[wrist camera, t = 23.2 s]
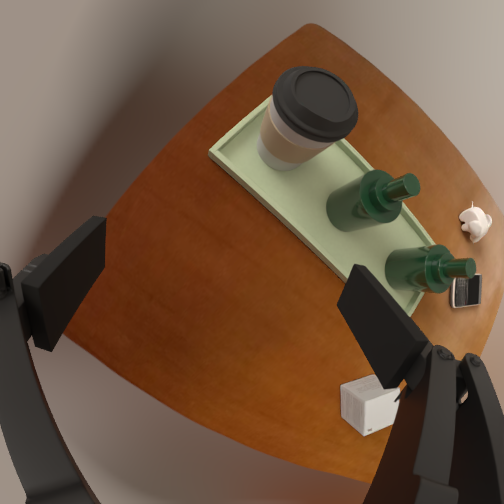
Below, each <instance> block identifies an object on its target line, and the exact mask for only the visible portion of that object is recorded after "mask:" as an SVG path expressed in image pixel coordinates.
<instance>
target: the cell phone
mask: <svg viewBox="0 0 504 504" xmlns="http://www.w3.org/2000/svg"><path fill="white" fill-rule="evenodd" d="M481 288H482V275H481V274H475V275H474V277H473V278H455V279H454V281H453V282H452V283H451V289H450V305H451V306H452V307H453V308H460V307H467V306H473V305H479V304H481Z"/></svg>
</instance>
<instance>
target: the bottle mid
mask: <svg viewBox="0 0 504 504" xmlns="http://www.w3.org/2000/svg"><path fill="white" fill-rule="evenodd" d="M419 192H420V183H419V180H418V179H417V177H416V176H415V175H413V174H411V173H407V174H405V175H403V176H400V177H398V178H396V179H394V178H393V177H392V176H391V175H389V174H388V173H386V172H384V171H382V170H371V171H369V172H367V173H365V174H363V175H362V176H360V177H358V178H356V179H354V180H352V181H350V182H349V183H347V184H345V185H343V186H341V187H339V188H338V189H336V190H334V191H333V192H332V193H331V194H330V195H329V197H328V199H327V202H326V212H327V216H328V218H329V220H330V222H331V223H332V225H333V226H334V227H335V228H337V229H338V230H340V231H343V232H353V231H357V230H361V229H366V228H370V227H374V226H378V225H382V224H386V223H390V222H393V221H394V220H395V219H396V218H397V217H398V216H399V214H400V212H401V209H402V201H403V200H405V199H408V198H411V197H414V196H417V195H418V194H419Z"/></svg>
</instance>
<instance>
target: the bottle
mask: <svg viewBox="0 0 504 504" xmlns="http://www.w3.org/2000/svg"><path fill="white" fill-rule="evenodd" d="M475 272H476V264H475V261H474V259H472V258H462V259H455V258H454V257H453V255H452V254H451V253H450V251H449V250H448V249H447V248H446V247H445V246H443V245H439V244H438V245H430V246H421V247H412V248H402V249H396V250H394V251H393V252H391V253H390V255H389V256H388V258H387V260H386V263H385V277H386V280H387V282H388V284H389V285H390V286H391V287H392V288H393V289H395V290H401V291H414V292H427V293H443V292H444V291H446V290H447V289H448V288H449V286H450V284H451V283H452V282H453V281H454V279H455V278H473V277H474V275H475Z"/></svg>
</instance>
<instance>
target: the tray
mask: <svg viewBox="0 0 504 504" xmlns="http://www.w3.org/2000/svg"><path fill="white" fill-rule="evenodd" d="M271 96H272V95H271ZM271 96H270V97H269V98H268V99H266V100H265V101H264V102H263V103H262V104H260V105H259V106H258V107H257V108H256V109H254V110H253V111H252V112H251V113H250V114H249V115H247V116H246V117H245V118H244V119H243V120H242V121H240V122H239V123H238V124H237V125H236V126H235V127H234V128H232V129H231V130H230V131H229V132H228V133H227V134H226V135H225V136H224V137H222V138H221V139H220V140H219V141H218V142H217V143H216V144H215V145H214V146H213V147H212V148H211V149H210V150H209V154H208V156H209V157H210V158H211V159H212V160H213V161H214V162H216V163H217V164H218V165H219V166H220V167H221V168H222V169H224V170H225V171H226V172H227V173H228V174H229V175H230V176H231V177H233V178H234V179H235V180H236V181H237V182H238V183H239V184H240V185H242V186H243V187H244V188H245V189H246V190H247V191H248V192H249V193H250V194H252V195H253V196H254V197H255V198H256V199H257V200H258V201H259V202H260V203H262V204H263V205H264V206H265V207H266V208H267V209H268V210H269V211H270V212H271V213H272V214H273V215H275V216H276V217H277V218H278V219H279V220H280V221H281V222H282V223H283V224H284V225H285V226H286V227H287V228H289V229H290V230H291V231H292V232H293V233H294V234H295V235H296V236H297V237H298V238H299V239H300V240H301V241H302V242H303V243H304V244H305V245H306V246H308V247H309V248H310V249H311V250H312V251H313V252H314V253H315V254H316V255H317V256H318V257H319V258H320V259H321V260H322V261H323V262H324V263H325V264H326V265H327V266H328V267H329V268H330V269H331V270H332V271H333V272H334V273H335V274H336V275H337V276H338V277H339V278H340V279H341V280H343V281H344V282H345V283H346V282H347V279H348V277H349V275H350V272H351V270H352V267H353V265H354V264H359V265H364V266H366V267H367V268H368V270H369V271H370V272H371V273H372V274H373V275H374V276H375V277H376V278H377V280H378V281H379V282H380V283H381V284H382V285H383V286H384V288H385V289H386V290H387V291H388V292H389V293H390V294H391V296H392V297H393V298H394V299H395V300H396V301H397V303H398V304H399V305H400V306H401V307H402V309H403V310H404V311H405V312H406V313H407V315H408V316H409V317H411V315H412V313H413V312H414V310H415V308H416V307H417V305H418V303H419V302H420V300H421V298H422V296H423V295H424V293H425V292H414V291H401V290H395V289H393V288H392V287H391V286H390V285H389V284H388V282H387V280H386V277H385V263H386V260H387V258H388V256H389V255H390V253H391V252H393V251H394V250H396V249H402V248H412V247H421V246H430V245H436V244H435V243H434V241H433V240H432V239H431V237H430V236H429V235H428V233H427V232H426V231H425V229H424V228H423V227H422V225H421V224H420V223H419V222H418V220H417V219H416V218H415V217H414V215H413V214H412V213H411V212H410V210H409V209H408V208H407V207H406V205H405V204H404V203H403V202H402V209H401V212H400V214H399V216H398V217H397V218H396V219H395V220H394V221H393V222H390V223H386V224H382V225H378V226H374V227H370V228H366V229H361V230H357V231H353V232H343V231H340V230H338V229H337V228H335V227H334V226H333V225H332V223H331V222H330V220H329V218H328V216H327V212H326V202H327V199H328V197H329V195H330V194H331V193H332V192H333V191H334V190H336V189H338V188H339V187H341V186H343V185H345V184H347V183H349V182H350V181H352V180H354V179H356V178H358V177H360V176H362V175H363V174H365V173H367V172H369V171H371V170H374V169H373V168H372V167H371V166H370V164H369V163H368V162H367V161H366V160H365V159H364V158H363V157H362V156H361V155H360V154H359V153H358V152H357V151H356V150H355V149H354V148H353V147H352V146H351V145H350V144H349V143H348V142H347V141H346V140H345V139H344V138H343V139H341V140H339V141H336V142H335V143H334V144H333V145H331V146H330V147H328V148H327V149H325V150H324V151H322V152H321V153H319V154H318V155H316V156H315V157H313V158H312V159H310V160H308V161H306V162H304V163H302V164H301V165H300V166H298V167H297V168H295V169H293V170H289V171H280V170H276V169H273V168H271V167H269V166H268V165H267V164H265V163H264V162H263V160H262V159H261V158H260V156H259V154H258V151H257V140H258V137H259V134H260V128H261V124H262V121H263V118H264V115H265V112H266V109H267V106H268V103H269V100H270V98H271Z"/></svg>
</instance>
